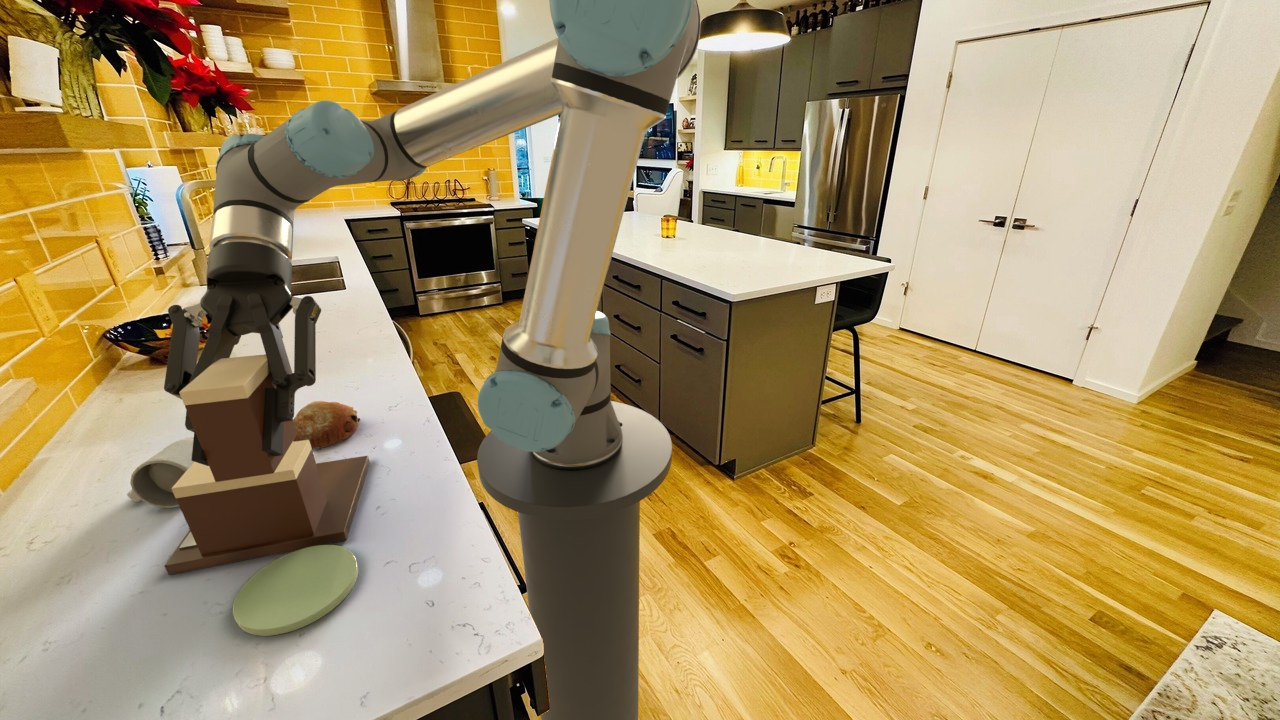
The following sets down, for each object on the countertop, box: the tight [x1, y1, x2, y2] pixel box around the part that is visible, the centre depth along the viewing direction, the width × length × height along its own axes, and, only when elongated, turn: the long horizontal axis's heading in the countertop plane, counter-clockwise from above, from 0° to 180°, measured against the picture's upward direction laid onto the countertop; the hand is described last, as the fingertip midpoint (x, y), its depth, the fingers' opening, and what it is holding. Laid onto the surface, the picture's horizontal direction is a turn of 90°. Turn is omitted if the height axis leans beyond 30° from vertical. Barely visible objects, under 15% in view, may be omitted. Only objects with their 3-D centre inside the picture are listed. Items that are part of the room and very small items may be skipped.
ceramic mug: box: [126, 437, 194, 509], centre depth 72 cm, size 11×8×8 cm
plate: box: [232, 544, 359, 637], centre depth 57 cm, size 12×12×1 cm
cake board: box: [164, 455, 371, 576], centre depth 70 cm, size 19×18×2 cm
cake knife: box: [179, 532, 197, 549], centre depth 68 cm, size 14×2×1 cm, turn 18°
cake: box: [171, 440, 327, 556], centre depth 63 cm, size 12×7×10 cm, turn 108°
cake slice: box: [179, 353, 297, 482], centre depth 51 cm, size 5×8×10 cm, turn 17°
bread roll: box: [293, 400, 361, 449], centre depth 88 cm, size 10×10×8 cm
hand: (239, 457), depth 49 cm, fingers closed on cake slice, 5 cm apart
